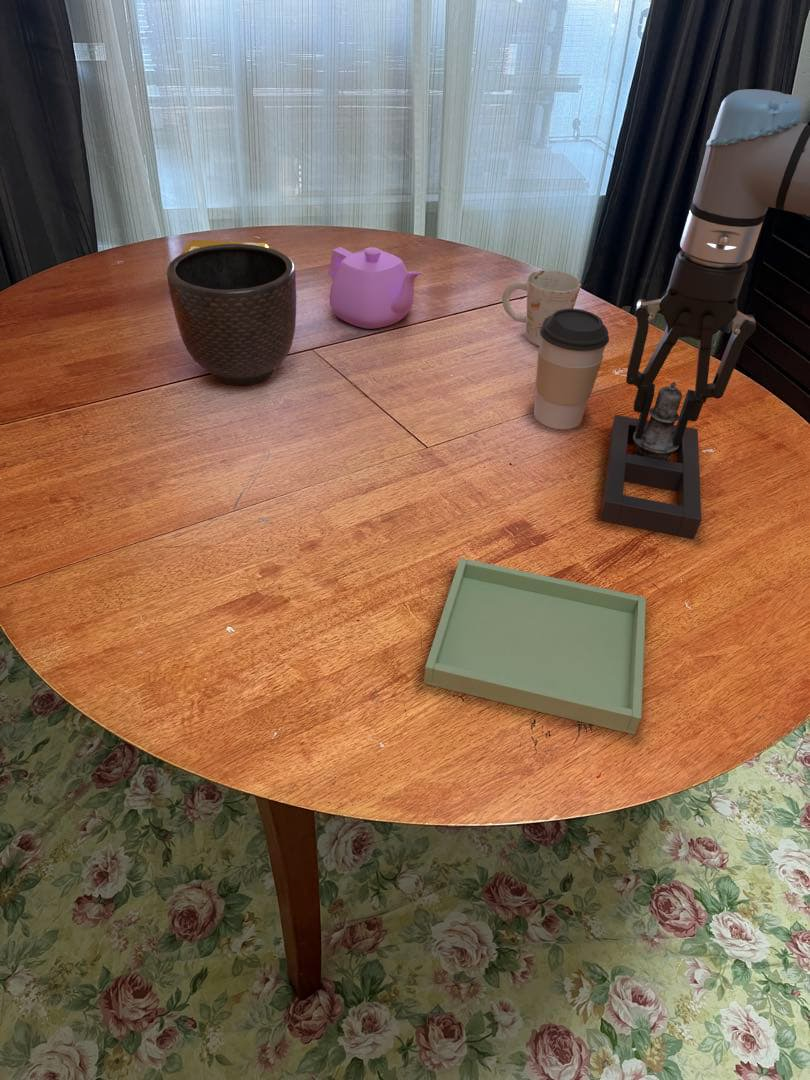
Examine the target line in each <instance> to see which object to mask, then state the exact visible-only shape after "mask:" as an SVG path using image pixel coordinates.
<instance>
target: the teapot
mask: <svg viewBox="0 0 810 1080" xmlns="http://www.w3.org/2000/svg"><path fill="white" fill-rule="evenodd" d="M421 274H422V271H418V270H412V271H408V270H407V267H406V265H405V263H404V261H403V260H402V258H401V257H399V256H397V255H394V254H392V253H389V252H387V251H383V250H381V249H380V248H377V247H367V248H365V249H363V250H360V251H357V252H354V253H353V252H352V251H350V250H348V249H346V248H344V247H342V246H338V247H336V248H333V249H332V252H331V258H330V263H329V268H328V275H329V276H330V278H331V280H332V283H331V286H330V292H329V305H330V308H331V310H332V311H333V313H334V314H335V315H336V316H337V318H338V319H340V320H342V321H344V322H345V323H348V324H350V325H352V326H355V327H358V328H361V329H367V330H368V329H370V330H371V329H372V330H373V329H379V328H383V327H388V326H391V325H394V324H396V323H399V321H400V322H401V320H403V319H404V318H405V317H406V316H407V315H408V314H409V312H410V311H411V309H412V307H413V305H414V296H415V295H414V294H415V281H416V279H417V277H418V276H419V275H421Z"/></svg>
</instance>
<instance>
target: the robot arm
mask: <svg viewBox="0 0 810 1080" xmlns="http://www.w3.org/2000/svg"><path fill="white" fill-rule="evenodd" d="M802 110H803V102H802V101H801V99H800V98H799V97H797V96H795V95H792V94H790V93H783V92H781V91H776V90H771V89H770V90H769V89H760V88H759V89H758V88H755V89H753V88H752V89H751V88H749V89H747V88H745V89H744V88H743V89H739V90H735V91H732V92H731V93H730V94H728V95H726V97H724V99H723V100H722V102H721V104H720V107H719V110H718V112H717V115H716V118H715V121H714V125H713V127H712V130H711V133H710V137H709V139H708V140H706V141H707V142H706V144H705V145H706V147H705V152H704V156H703V160H702V163H701V167H700V172H699V175H698V179H697V182H696V187H695V189H694V190H695V191H694V194H693V198H692V201H691V204H690V208H689V210H688V214H687V217H686V221H685V225H684V228H683V231H682V235H681V238H680V242H679V246H680V248H681V249H680V251H679V252H677V254H676V257H675V261H674V264H673V268H672V271H671V275H670V278H669V281H668V286H667V288H666V289H665V291H664V292H663V293H662V294H661V296H660V297H659V298H657V299H653V300H648V301H647V300H646V299H644V298H640V299H638V301H636V307H635V317H636V322H637V325H636V330H635V333H634V337H633V342H632V348H631V351H630V357H629V361H628V365H627V369H626V378H625V380H626V381H625V382H626V384H627V385H631V386H632V385H633V386H635V387H636V388H637V391H636V394H635V396H634V397H635V398H634V401H633V412H635V413H639V414H638V415H639V416H638V418H637V419H638V422H637V426H636V435H635V438H638V439H641V438H642V435H643V431H644V428H645V425H646V421H647V420H648V417H649V415H650V410H651V409H652V408H651V407H652V405H653V400H654V397H655V391H656V384H655V383H654V382H655V380H656V378H657V377H658V375H659V373H660V371H661V369H662V367H663V365H664V364H665V362H666V360H667V358H668V356H669V355H670V353H671V351H672V349H673V347H674V346H675V345H676V344H677V342H678V340H679V339H680V338H692V339H694V340H697V341H698V348H697V349H698V351H697V361H696V362H697V363H696V372H695V373H696V374H695V385H694V388H695V389H694V390H693V389H687V391H686V395H685V397H684V400H683V404H682V407H681V410H680V413H679V418H678V420H677V421H676V424H675V425H676V428H675V431H674V445H677V446H680V443H681V440H682V437H683V434H684V431H685V428H686V427H688V426H687V425H688V422H694V423H695V422H697V420H699V417H700V414H701V411H702V408H703V406H704V404H705V403H706V402H707V399H711V398H713V399H717V400H719V399H721V398H723V397H724V394H725V392H726V389H727V387H728V385H729V382H730V380H731V377H732V374H733V372H734V369H735V367H736V364H737V363H738V360H739V357H740V354H741V352H742V349H743V347H744V345H745V343H746V342H747V341H748V340H749V338H750V337H751V336H752V335H753V334H754V333H755V332H756V330H757V325H756V318H755V316H754V315H753V314H745V313H742V312H741V311H739V309H738V305H737V302H738V301H737V300H738V297H739V294H740V291H741V289H742V285H743V282H744V279H745V277H746V274H747V271H748V268H749V265H748V263H747V261H749V260H750V259H751V258H752V256H753V253H754V250H755V247H756V245H757V241H758V238H759V235H760V233H761V229H762V226H763V223H764V221H765V219H766V215H767V211H768V209H769V208H773V209H776V210H780V211H786V212H791V213H794V214H800V215H803V216H809V217H810V125H809V124H808V123H804V122H801V120H802ZM659 311H660V312H661V314H662V316H663V318H664V321H665V323H666V327H665V329H664V333H663V334H662V336H661V338H660V340H659V341H658V343H657V346H656V347H655V349H654V351H653V353H652V354H651V357H650V359H649V361H648V362H647V364H646V366H645V367H644V370H643V371H642V372H641V371H640V367H641V363H642V358H643V354H644V350H645V346H646V341H647V337H648V333H649V324H650V322H652V321H654V320H655V319H656V315H657V313H658V312H659ZM731 322H732V324H731V334H730V337H729V339H728V342H727V344H726V347H725V350H724V352H723V355H722V357H721V359H720V363H719V364H718V368H717V370H716V372H715V376H714V378H713V381H712V382H709V371H710V361H711V350H712V346H713V345H712V344H713V336H714V335H715V334H716V333H718V332H720V330H722V329H723V328H724V327H725V326H727V325H729V323H731ZM708 382H709V383H708Z"/></svg>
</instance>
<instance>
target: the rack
mask: <svg viewBox="0 0 810 1080" xmlns="http://www.w3.org/2000/svg"><path fill="white" fill-rule="evenodd" d="M638 419H639V418H637V417H636V418H635V417H630V416H626V415H619V414H614V416H613V421H612V425H611V427H610V432H609V439H608V447H607V455H606V463H605V474H604V481H603V488H602V489H603V490H602V498H601V505H600V506H601V507H600V514H599V521H600V522H604V523H609V524H614V525H620V526H625V527H630V528H635V529H640V530H645V531H650V532H656V533H660V534H665V535H670V536H677V537H680V538H686V539H691V540H694V539H696V536H697V532H698V530H699V527H700V525H701V522H702V501H701V499H702V498H701V479H700V478H701V477H700V475H701V474H700V453H699V452H700V451H699V433H698V432H699V429H698V428H694V427H688V426H686V428H685V431H684V434H683V437H682V440H681V443H680V446H679V448H678V449H677V450H676V451H674V453H676V455H675V457H676V461H671V460H668V461H666V460H660V459H655V458H649V457H644V456H638V455H633V454H632V453H628V452H627V450H628V445H633V446H634V439H633V435H634V432H636V426H637V422H638ZM649 421H650V420H648V419H647V421H646V425H645V427H647V426H648V424H649ZM676 425H677V424H674V426H673V429H672V434H673V435H674V431H675V428H676ZM625 483H631V484H634V485H635V484H636V485H641V486H645V487H652V488H658V489H662V490H668V491H672V492H676V504H674V503H668V502H663V501H659V500H658V501H657V500H653V499H652V500H651V499H648V498H643V497H638V496H632V495H626V494H624V487H625Z"/></svg>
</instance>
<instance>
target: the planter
mask: <svg viewBox="0 0 810 1080" xmlns="http://www.w3.org/2000/svg"><path fill="white" fill-rule="evenodd" d="M166 278H167V283H168V289H169V294H170V295H169V296H170V300H171V305H172V309H173V312H174V313H173V314H174V318H175V321H176V324H177V328H178V330H179V334H180V335H179V336H180V337H181V340H182V342H183V345H184V347H185V349H186V350H187V352H188V354H189V355H190V357H191V358H192V360H193V361H194V362H195V363H196V364H197V365H198V366H200V367H201V368H202V369H203V370H205V371H206V372H209V373H210V374H211V375H212V376H213V377H214V378H215V379H216V380H217V381H219V382H220V383H223V384H226V385H229V386H240V387H241V386H242V387H243V386H244V387H245V386H252V385H256V384H259V383H261V382H263V381H265V380H267V379H268V378H270V376H271V375H273V372H274V371H275V369H276V368H278V367H279V366H280V365H281V364H282V363H283V362H284V360H285V359H286V358H287V356H288V355H289V353H290V351H291V348H292V345H293V341H294V337H295V332H296V322H297V280H296V278H297V276H296V268H295V264H294V262H293V260H292V259H291V258H290V257H289V256H287V255H286V254H285V253H284V252H282V251H279V250H277V249H273V248H270V247H269V248H267V247H263V246H257V245H249V244H220V245H212V246H206V247H201V248H197V249H193V250H190V251H188V252H185V253H183V254H182V253H181V254H179V255H178V256H176V257H174V259H172V261H170V262H169V264H168V266H167V270H166Z"/></svg>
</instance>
